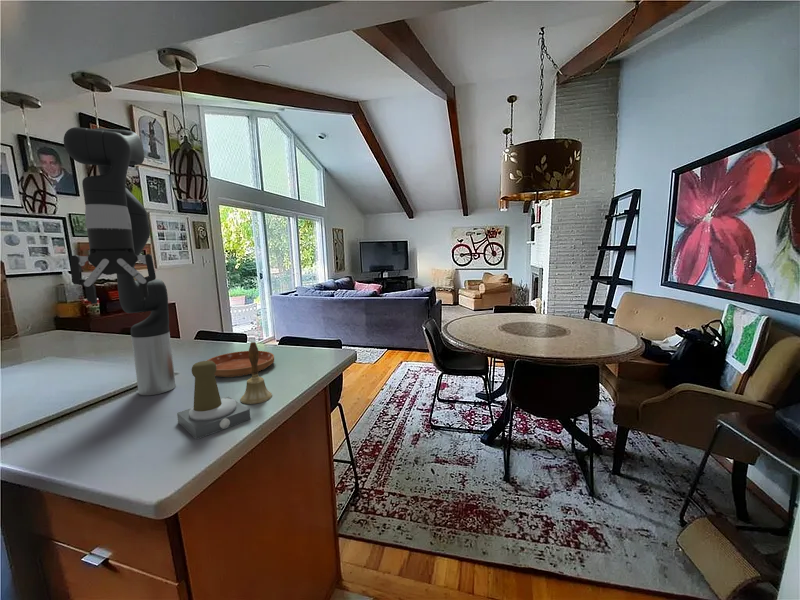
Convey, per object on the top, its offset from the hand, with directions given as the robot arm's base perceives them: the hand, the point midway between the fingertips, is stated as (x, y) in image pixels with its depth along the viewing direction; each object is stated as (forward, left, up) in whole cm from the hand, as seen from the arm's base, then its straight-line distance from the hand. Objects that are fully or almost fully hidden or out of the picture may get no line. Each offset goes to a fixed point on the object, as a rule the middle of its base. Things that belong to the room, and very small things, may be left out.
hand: (119, 301), depth 77 cm
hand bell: (+6, +26, -30) cm, 40 cm away
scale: (+11, +13, -30) cm, 34 cm away
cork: (+9, +13, -27) cm, 31 cm away
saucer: (-24, +35, -30) cm, 52 cm away
